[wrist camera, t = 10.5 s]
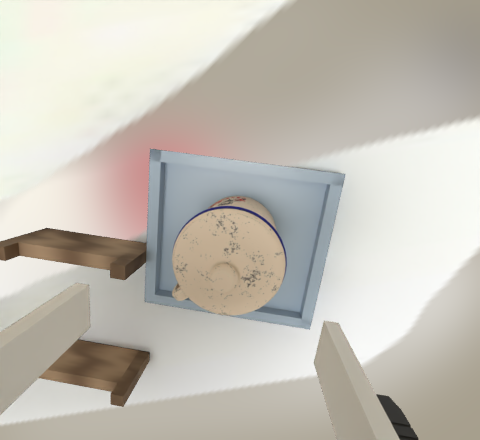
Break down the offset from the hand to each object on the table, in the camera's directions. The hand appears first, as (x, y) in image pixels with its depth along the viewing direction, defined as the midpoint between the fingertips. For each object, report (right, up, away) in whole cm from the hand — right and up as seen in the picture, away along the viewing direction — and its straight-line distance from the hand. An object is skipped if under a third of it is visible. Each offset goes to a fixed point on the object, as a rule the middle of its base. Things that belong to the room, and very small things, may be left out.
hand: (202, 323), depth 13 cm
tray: (+2, +3, +15) cm, 15 cm away
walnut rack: (-17, -5, +18) cm, 25 cm away
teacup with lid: (+1, +3, +14) cm, 15 cm away
